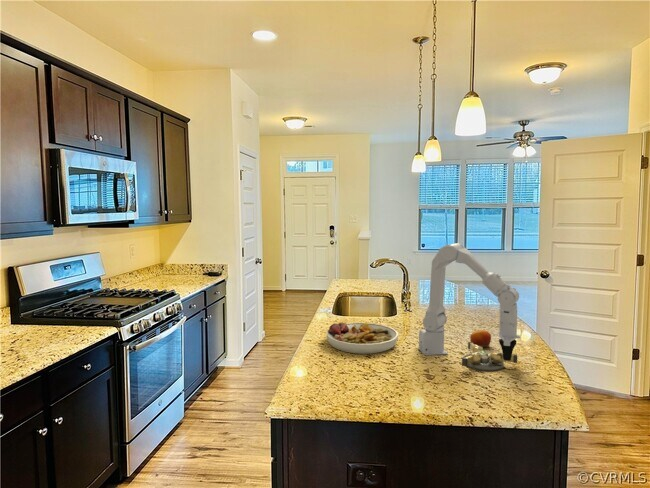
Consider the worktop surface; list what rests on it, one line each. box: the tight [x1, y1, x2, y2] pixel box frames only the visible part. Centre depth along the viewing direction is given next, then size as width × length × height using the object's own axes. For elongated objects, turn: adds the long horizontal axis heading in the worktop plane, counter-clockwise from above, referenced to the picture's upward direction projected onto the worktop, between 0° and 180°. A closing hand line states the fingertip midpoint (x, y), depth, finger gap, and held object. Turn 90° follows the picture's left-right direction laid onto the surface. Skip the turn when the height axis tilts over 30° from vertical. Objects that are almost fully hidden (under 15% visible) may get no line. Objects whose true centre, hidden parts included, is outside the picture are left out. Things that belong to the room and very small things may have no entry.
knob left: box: [461, 352, 481, 367], centre depth 147 cm, size 9×4×4 cm, turn 125°
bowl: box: [326, 322, 399, 355], centre depth 175 cm, size 30×30×8 cm
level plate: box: [462, 350, 505, 372], centre depth 151 cm, size 14×14×4 cm
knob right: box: [490, 350, 518, 364], centre depth 148 cm, size 9×4×4 cm, turn 75°
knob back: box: [467, 341, 484, 352], centre depth 158 cm, size 9×4×4 cm, turn 5°
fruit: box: [469, 329, 492, 348], centre depth 170 cm, size 8×8×8 cm
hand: (507, 359), depth 147 cm, fingers closed, pressing on knob right
